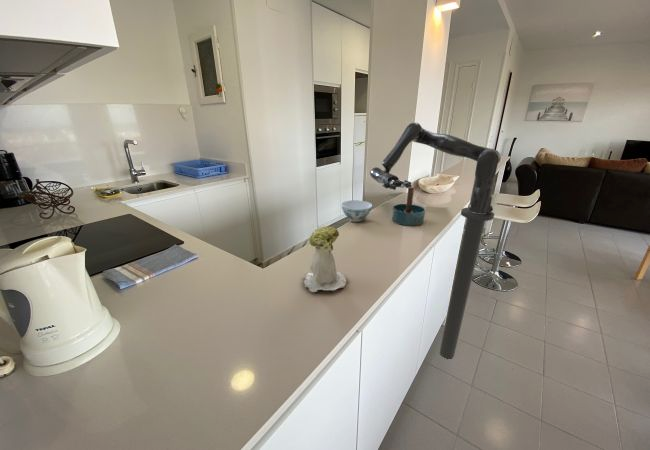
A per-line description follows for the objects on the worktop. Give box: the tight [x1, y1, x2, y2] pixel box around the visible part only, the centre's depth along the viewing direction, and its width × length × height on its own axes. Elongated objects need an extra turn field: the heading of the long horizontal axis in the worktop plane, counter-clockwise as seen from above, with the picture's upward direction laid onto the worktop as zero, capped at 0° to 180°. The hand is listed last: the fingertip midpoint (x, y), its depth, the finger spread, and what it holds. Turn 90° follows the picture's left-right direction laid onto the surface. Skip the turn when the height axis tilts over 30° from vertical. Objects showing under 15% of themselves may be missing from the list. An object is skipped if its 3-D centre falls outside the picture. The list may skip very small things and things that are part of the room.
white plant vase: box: [303, 226, 347, 293], centre depth 82 cm, size 12×13×18 cm
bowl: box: [391, 203, 426, 227], centre depth 136 cm, size 15×15×6 cm
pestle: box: [404, 186, 415, 213], centre depth 134 cm, size 4×4×16 cm
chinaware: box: [340, 199, 373, 223], centre depth 137 cm, size 15×15×8 cm
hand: (402, 187), depth 140 cm, fingers open, 8 cm apart
